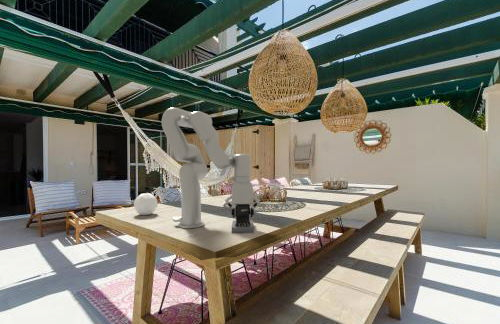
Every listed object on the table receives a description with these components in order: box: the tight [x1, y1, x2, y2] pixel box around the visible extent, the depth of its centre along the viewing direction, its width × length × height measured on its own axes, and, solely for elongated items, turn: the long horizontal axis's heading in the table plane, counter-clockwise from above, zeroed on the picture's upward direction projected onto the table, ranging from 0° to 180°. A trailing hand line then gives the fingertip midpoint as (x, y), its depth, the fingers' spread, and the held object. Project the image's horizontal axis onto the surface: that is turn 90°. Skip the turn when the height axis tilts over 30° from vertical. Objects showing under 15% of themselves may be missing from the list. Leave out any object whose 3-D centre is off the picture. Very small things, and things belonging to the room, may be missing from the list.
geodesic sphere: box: [133, 192, 158, 216], centre depth 158 cm, size 14×14×14 cm
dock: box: [231, 219, 255, 234], centre depth 124 cm, size 10×13×2 cm
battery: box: [234, 204, 251, 227], centre depth 123 cm, size 7×4×11 cm, turn 115°
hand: (242, 216), depth 124 cm, fingers open, 7 cm apart
